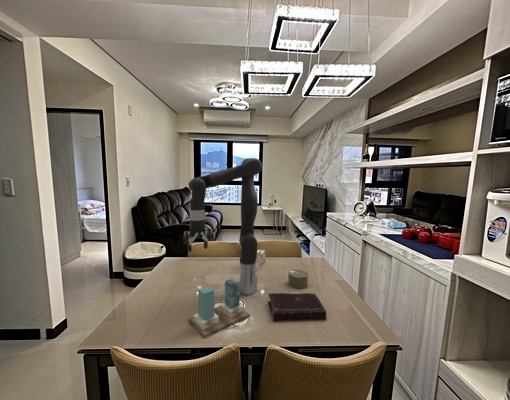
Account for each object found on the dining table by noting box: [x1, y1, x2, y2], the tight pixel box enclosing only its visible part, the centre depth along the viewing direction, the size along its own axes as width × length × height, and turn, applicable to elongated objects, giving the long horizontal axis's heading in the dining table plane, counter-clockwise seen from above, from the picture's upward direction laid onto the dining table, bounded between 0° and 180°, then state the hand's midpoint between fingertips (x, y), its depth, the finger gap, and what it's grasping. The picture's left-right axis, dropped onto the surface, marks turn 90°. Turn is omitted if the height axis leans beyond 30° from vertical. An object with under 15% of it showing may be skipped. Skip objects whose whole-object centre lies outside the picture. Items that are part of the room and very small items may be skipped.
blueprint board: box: [187, 277, 251, 339], centre depth 114 cm, size 24×15×16 cm, turn 131°
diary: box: [267, 292, 327, 322], centre depth 124 cm, size 19×25×5 cm
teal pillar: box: [197, 285, 215, 320], centre depth 109 cm, size 5×5×12 cm
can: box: [287, 269, 309, 289], centre depth 152 cm, size 12×12×7 cm
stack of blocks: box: [256, 249, 266, 271], centre depth 179 cm, size 21×6×12 cm, turn 157°
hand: (197, 250), depth 126 cm, fingers open, 8 cm apart
